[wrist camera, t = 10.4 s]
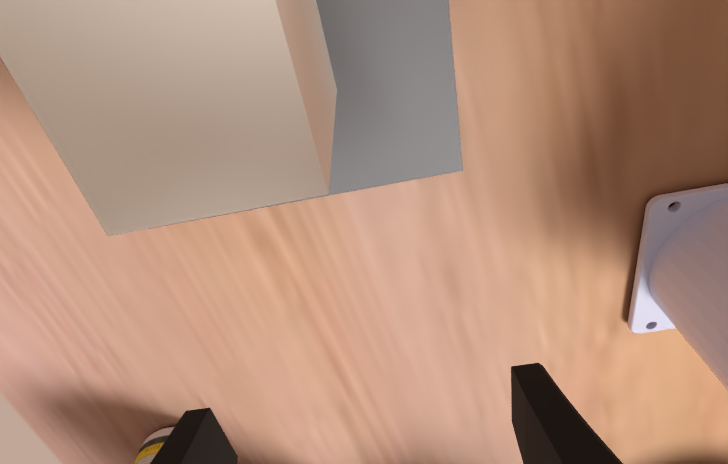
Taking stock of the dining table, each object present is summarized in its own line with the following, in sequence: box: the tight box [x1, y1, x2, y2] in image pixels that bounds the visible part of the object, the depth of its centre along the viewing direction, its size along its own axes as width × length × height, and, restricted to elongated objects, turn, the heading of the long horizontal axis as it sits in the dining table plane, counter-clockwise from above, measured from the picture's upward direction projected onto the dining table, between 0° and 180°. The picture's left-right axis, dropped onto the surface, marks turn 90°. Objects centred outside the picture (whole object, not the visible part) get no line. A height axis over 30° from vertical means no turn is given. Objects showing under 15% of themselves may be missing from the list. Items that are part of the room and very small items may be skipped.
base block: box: [144, 0, 463, 230], centre depth 15 cm, size 12×12×2 cm
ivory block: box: [0, 0, 337, 236], centre depth 11 cm, size 4×4×7 cm
